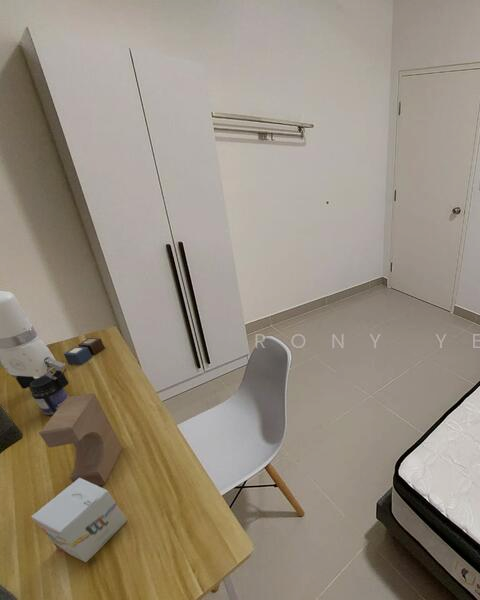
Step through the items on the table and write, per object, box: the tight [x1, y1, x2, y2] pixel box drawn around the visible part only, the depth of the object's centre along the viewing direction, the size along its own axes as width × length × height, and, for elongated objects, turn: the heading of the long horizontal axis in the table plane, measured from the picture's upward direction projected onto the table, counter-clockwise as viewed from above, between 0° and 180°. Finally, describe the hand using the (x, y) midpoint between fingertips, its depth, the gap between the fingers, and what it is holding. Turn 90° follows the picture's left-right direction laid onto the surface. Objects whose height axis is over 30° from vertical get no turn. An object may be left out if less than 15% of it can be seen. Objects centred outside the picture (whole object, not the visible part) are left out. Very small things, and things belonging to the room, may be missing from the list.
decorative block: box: [38, 392, 123, 487], centre depth 78 cm, size 11×6×20 cm, turn 16°
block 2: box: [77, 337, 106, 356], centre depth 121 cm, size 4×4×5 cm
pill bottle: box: [30, 376, 70, 417], centre depth 95 cm, size 6×6×11 cm
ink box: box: [30, 478, 128, 563], centre depth 67 cm, size 9×9×12 cm
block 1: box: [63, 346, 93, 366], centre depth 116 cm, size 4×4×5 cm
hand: (46, 386), depth 93 cm, fingers open, 9 cm apart
